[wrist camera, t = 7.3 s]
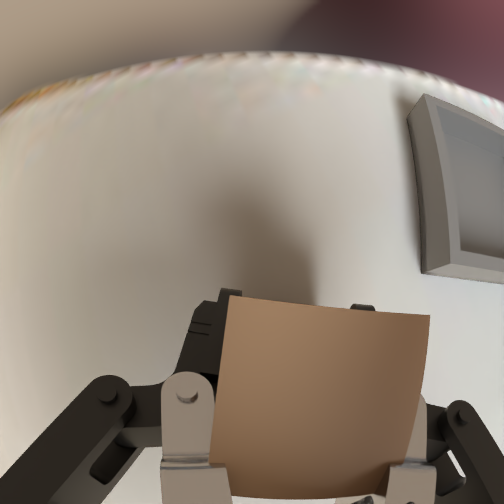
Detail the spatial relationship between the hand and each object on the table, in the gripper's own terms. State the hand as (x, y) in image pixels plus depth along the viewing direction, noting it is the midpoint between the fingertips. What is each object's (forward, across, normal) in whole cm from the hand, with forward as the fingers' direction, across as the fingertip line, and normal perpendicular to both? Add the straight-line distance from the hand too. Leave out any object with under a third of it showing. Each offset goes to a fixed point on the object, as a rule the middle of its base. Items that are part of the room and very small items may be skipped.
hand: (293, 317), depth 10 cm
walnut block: (+2, 0, +5) cm, 5 cm away
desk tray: (+10, -14, -3) cm, 17 cm away
